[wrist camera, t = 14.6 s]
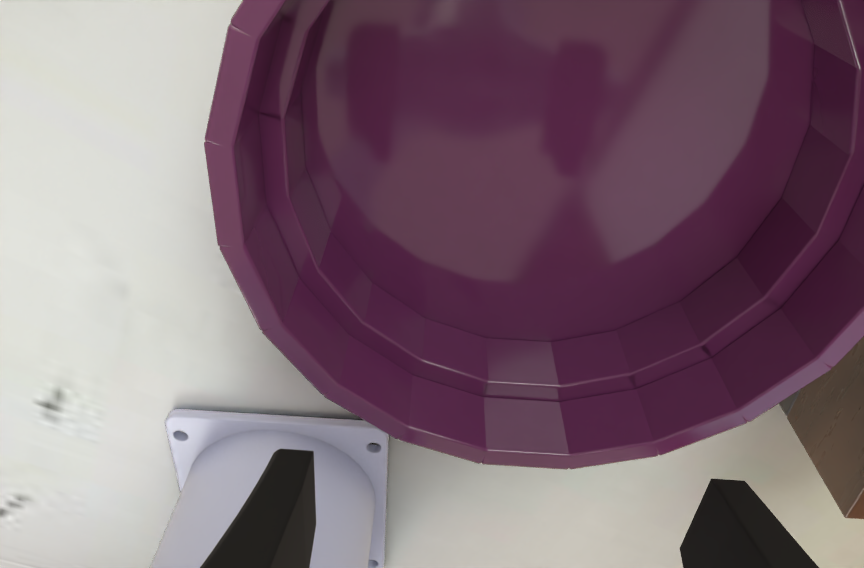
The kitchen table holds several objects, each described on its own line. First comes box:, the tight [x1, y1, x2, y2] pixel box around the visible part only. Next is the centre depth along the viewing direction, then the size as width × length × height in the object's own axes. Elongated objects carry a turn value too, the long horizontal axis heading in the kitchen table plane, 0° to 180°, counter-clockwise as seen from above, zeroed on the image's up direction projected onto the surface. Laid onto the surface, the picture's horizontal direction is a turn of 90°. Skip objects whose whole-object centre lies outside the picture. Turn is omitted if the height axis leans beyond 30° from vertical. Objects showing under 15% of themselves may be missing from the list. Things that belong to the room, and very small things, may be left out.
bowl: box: [204, 0, 864, 469], centre depth 16 cm, size 15×15×5 cm
